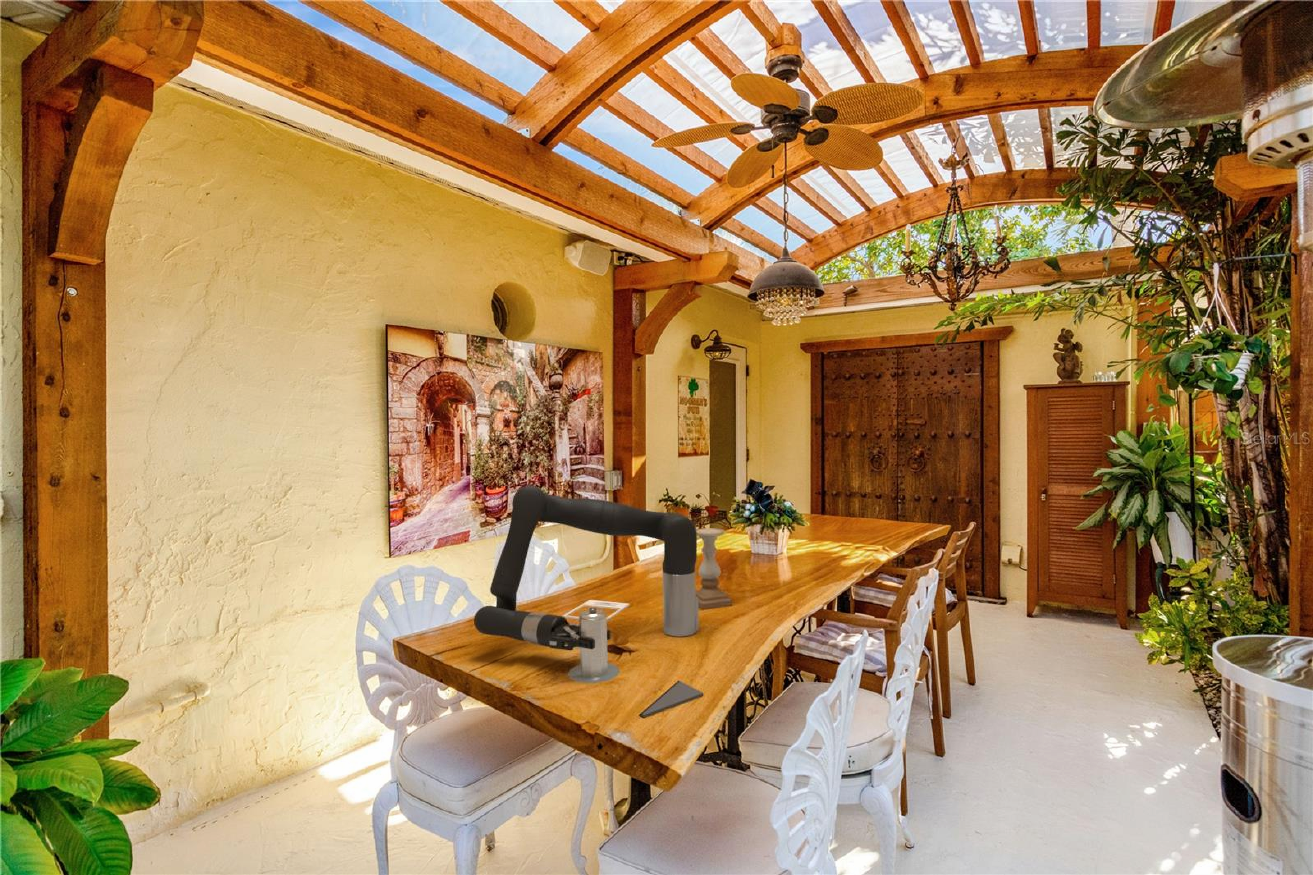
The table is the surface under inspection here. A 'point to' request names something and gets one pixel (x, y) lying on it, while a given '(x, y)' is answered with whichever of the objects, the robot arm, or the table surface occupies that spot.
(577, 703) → the table surface
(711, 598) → the candle holder
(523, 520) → the robot arm
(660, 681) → the table surface
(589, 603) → the white rectangular frame
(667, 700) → the rubber mat
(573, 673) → the grey pot lid
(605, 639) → the steel canister
